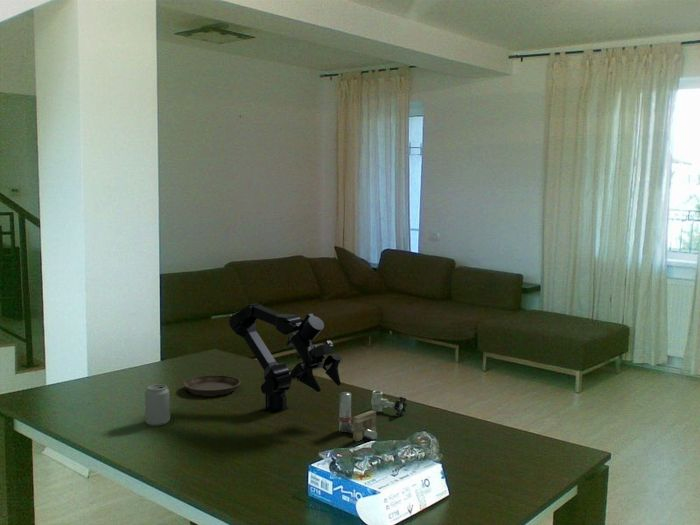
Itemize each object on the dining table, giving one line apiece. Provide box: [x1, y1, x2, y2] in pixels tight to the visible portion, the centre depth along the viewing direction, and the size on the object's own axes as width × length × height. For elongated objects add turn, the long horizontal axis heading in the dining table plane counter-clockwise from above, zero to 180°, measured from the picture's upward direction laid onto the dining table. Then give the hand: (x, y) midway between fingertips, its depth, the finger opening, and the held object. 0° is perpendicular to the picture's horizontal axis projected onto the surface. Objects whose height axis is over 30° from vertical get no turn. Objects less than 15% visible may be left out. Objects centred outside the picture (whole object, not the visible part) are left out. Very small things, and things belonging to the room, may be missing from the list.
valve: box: [370, 390, 408, 417], centre depth 228 cm, size 7×7×12 cm
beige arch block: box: [352, 409, 377, 442], centre depth 204 cm, size 2×8×7 cm, turn 139°
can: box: [144, 383, 171, 427], centre depth 216 cm, size 8×8×12 cm
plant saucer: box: [183, 374, 241, 397], centre depth 252 cm, size 21×21×3 cm
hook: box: [337, 391, 379, 440], centre depth 206 cm, size 14×4×12 cm, turn 49°
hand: (329, 388), depth 213 cm, fingers open, 9 cm apart
